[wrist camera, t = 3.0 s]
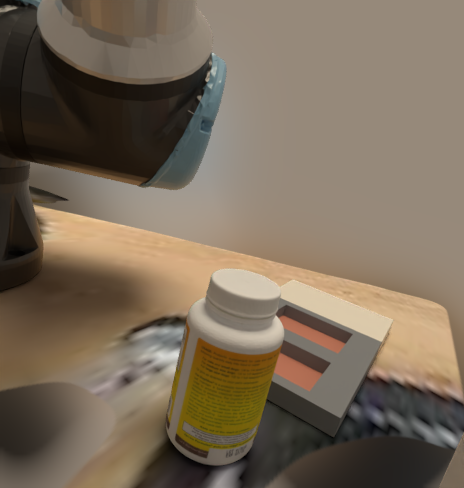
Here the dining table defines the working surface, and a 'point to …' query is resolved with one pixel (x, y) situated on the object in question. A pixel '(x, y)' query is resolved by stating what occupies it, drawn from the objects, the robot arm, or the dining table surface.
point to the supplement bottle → (225, 367)
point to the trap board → (323, 354)
